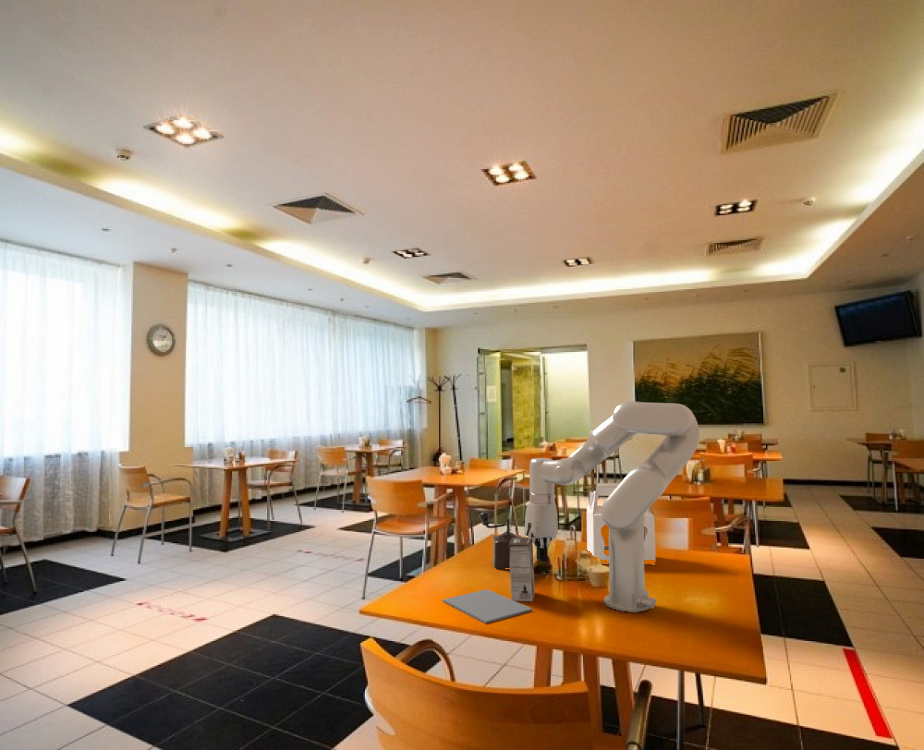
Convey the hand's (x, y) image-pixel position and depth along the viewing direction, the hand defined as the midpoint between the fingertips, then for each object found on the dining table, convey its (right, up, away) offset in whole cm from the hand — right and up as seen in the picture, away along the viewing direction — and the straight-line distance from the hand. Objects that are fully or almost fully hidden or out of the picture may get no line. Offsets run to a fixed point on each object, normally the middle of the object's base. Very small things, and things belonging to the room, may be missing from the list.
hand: (542, 560), depth 166 cm
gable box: (+34, -12, +35) cm, 50 cm away
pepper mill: (-10, -12, +28) cm, 32 cm away
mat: (-17, -8, -13) cm, 23 cm away
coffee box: (-6, -9, -5) cm, 12 cm away
